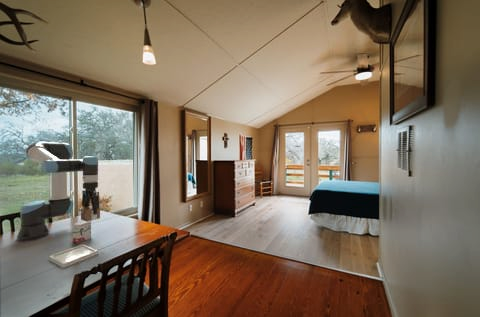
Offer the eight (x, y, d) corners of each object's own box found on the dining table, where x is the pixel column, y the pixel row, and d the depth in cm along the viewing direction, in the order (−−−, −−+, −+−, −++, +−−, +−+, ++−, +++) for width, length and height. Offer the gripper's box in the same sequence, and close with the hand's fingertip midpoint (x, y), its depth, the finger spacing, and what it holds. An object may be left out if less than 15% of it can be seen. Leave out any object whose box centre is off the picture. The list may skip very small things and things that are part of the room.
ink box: (78, 243, 126) (78, 224, 126) (72, 242, 127) (72, 224, 127) (91, 237, 135) (91, 220, 135) (85, 236, 136) (85, 219, 136)
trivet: (48, 259, 107) (48, 256, 107) (83, 247, 121) (83, 244, 121) (63, 267, 99) (63, 264, 99) (98, 253, 114) (98, 250, 114)
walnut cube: (80, 219, 121) (80, 208, 121) (93, 216, 127) (93, 205, 127) (87, 221, 118) (87, 210, 118) (100, 218, 124) (100, 207, 124)
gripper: (74, 181, 123) (74, 217, 123) (93, 183, 114) (93, 223, 115) (88, 179, 129) (88, 214, 130) (106, 182, 121) (106, 219, 121)
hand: (90, 218), depth 122 cm, fingers closed on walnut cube, 7 cm apart
